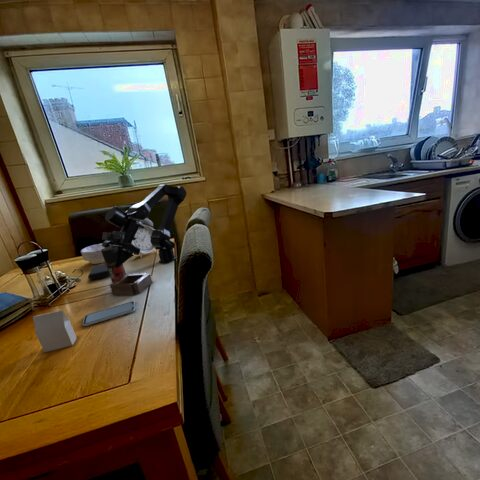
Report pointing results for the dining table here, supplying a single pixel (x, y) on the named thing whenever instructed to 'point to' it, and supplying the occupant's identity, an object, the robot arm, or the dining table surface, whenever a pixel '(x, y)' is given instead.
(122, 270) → the deodorant
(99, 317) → the smartphone
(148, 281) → the holder
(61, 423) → the dining table surface
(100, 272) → the carrying case
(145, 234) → the alarm clock
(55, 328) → the white angled block
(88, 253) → the paper bowls
